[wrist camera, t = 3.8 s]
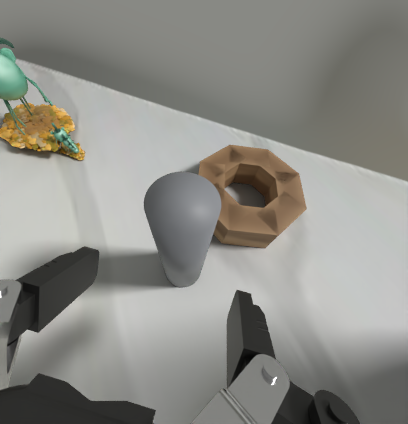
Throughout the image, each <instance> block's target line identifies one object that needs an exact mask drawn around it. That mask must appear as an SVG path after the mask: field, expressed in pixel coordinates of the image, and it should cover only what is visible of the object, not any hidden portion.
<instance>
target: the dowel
mask: <svg viewBox="0 0 408 424" xmlns="http://www.w3.org/2000/svg"><path fill="white" fill-rule="evenodd" d="M144 210H145V213H146V217H147V220H148V223H149V226H150V229H151V232H152V235H153V238H154V241H155V243H156V246H157V249H158V252H159V255H160V258H161V261H162V264H163V267H164V270H165V273H166V276H167V278H168V280H169V281H170V282H171V283H172V284H173V285H175V286H177V287H188V286H190V285H192V284H194V283H195V282H196V281H197V279H198V278H199V276H200V273H201V270H202V267H203V264H204V261H205V258H206V254H207V251H208V248H209V245H210V242H211V239H212V236H213V233H214V230H215V227H216V224H217V221H218V218H219V215H220V211H221V198H220V195H219V192H218V191H217V189H216V187H215V186H214V185H213V184H212V183H211V182H210V181H209V180H207V179H206V178H204V177H202V176H200V175H198V174H194V173H190V172H175V173H170V174H167V175H165V176H163V177H161V178H159V179H157V180H156V181H155V182H154V183H153V184H152V185H151V186H150V187H149V189H148V191H147V192H146V195H145V199H144Z"/></svg>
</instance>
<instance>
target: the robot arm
mask: <svg viewBox="0 0 408 424" xmlns="http://www.w3.org/2000/svg"><path fill="white" fill-rule="evenodd" d="M98 261H99V251H98V250H96V249H92V248H89V247H82V248H80V249H79V250H77V251H75V252H73V253H72V252H71V253H67V254H64V255H61V256H59V257H57V258H55V259H53V260H52V261H51V262H48V263H46V264H44V266H41V267H39V268H37V269H35V270H33V271H32V272H30V273H28V274H26V275H24V276H23V277H21V278H19V279H17V280H0V424H154V423H153V419H154V415H155V411H156V410H153V409H150V408H147V407H144V406H141V405H137V404H134V403H131V402H128V401H91V400H89V399H87V398H86V397H85V396H84V395H82V394H81V393H80V392H79V391H77V390H76V389H75V388H74V387H72V386H71V385H70V384H69V383H67V382H65V381H62V380H59V379H55V378H52V377H49V376H46V375H43V374H40V373H38V375H37V376H36V377H35V378H34V379H33V380H32V381H31V382H30V383H29V385H18V386H13V387H9V382H10V378H11V374H12V370H13V367H14V363H15V360H16V356H17V352H18V349H19V345H20V341H21V334H22V333H24V332H25V331H26V330H27V329H28V330H31V331H34V332H37V333H38V332H40V331H41V330H42V329H43V328H44V327H45V326H46V325H47V324H48V323H50V322H51V321H52V320H53V319H54V318H55V317H56V316H57V315H58V314H60V313H61V312H62V311H63V310H64V309H65V308H66V307H67V306H68V305H70V304H71V303H72V302H73V301H74V300H75V299H76V298H77V297H78V296H80V295H81V294H82V293H83V292H84V291H85V290H86V289H87V288H88V287H90V286H91V285H92V284H93V282H94V280H95V278H96V276H97V270H98ZM8 387H9V388H8ZM191 424H360V423H359V421H358V419H357V417H356V416H355V414H354V413H353V411H352V410H351V409H350V408H349V407H348V405H347V404H346V403H345V402H344V401H342V400H341V399H340V398H339V397H337V396H336V395H334V394H333V393H331V392H328V391H325V390H320V391H318V392H316V394H315V396H314V397H313V396H312V395H310V394H309V393H307V392H305V391H304V390H302V389H301V388H299V387H297V386H296V385H294V384H293V383H292V382H291V381H289V377H288V375H287V372H286V371H285V369H284V368H283V366H282V365H281V364H280V363H279V362H278V361H277V360H276V358H275V354H274V350H273V346H272V342H271V338H270V334H269V332H268V327H267V324H266V319H265V315H264V313H263V312H262V310H261V309H260V307H259V306H257V305H253V302H252V297H251V294H250V293H247V292H243V291H239V290H237V291H236V293H235V296H234V299H233V302H232V305H231V308H230V311H229V314H228V318H227V390H225V389H224V388H223V389H221V390H220V391H219V392H218V393H217V394H216V395H215V396H214V398H213V399H212V400H211V401H210V402H209V403H208V404H207V406H206V407H205V408H204V409H203V410H202V411H201V412H200V414H199V415H198V416H197V417H196V418H195V419H194V420H193V422H192V423H191Z"/></svg>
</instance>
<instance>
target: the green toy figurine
mask: <svg viewBox="0 0 408 424" xmlns="http://www.w3.org/2000/svg"><path fill="white" fill-rule="evenodd" d="M0 44H6V45H8V46H10V47H12V48H14V46H13V45H12V43H10V42H9V41H7V40H5V39H3V38H0ZM15 60H16V58H15V57H14V54H13V53H12V51H11V50H10V49H7V48H3V49H1V50H0V98H1V99H3V100H4V102H5V104H6V106H7V108H8V110H9V112H10V113H6V114H5V115H4V116H5V119H4V120H3V122H4V124H3V125H2V128H0V137H1V138H3V139H5V140H6V141H8V142H9V143H10V144H11V146H13V147H19V148H20V149H22V148H25V147H28V148H30V149H34V150H38V151H41V150H42V151H47V150H52V151H53V152H55V151H57V150H58V147H59V146H60V144H59V141H60V143H61V142H62V144H61V146H62V149H61V148H60V152H59V153H64V154H66V155H69V156H70V157H73V158H75V159H77V160H83V159H84V156H85V151H83V150H82V149H81V147H80V144H79V143H77V144H76V143H74V142H73V140H71V139H70V137H68V136H70V135H68V133H69V132H70V131H74V130H75V129H74V127H75V125H74V123H73V121H72V119H71V117H70V116H68V114H67V113H66V111H65V110H64V109H63V108H56V106H55V105H53V104H52V102H51V101H49V100H48V99H47V97H46V96H45V95H44V93H43V92H42V91H41V90H40V88H39V87H38V86H37V84H36V83H35V82H33V81H32V80H30V79H29V78H27V77H26V76H25V75H24V73H23V72H22V70H21V69H20V68H19V67H18V66H17V65H16V64H15ZM26 79H28V80H29V81H30V82H31V83H32V84H33V85H34V86H35V87H36V88H38V89H39V92H40V93H41V95H42V96H43V95H44V96H43V98H44V100H45V102H49V103H50V105H44V104H42V105H36V106H34V105H33V104H31V103H27V101H26V100H25V98H24V95H25V94H26V93H27V91H28V84H27V80H26ZM22 97H23V99H24V100H25V102H26V103H24V102H23V100H22V99H21V98H22ZM18 99H20V100H21V102H22V103H23V104H20V105H18V106H16V108H14V109H12V108H11V106H10V104H9V102H8V101H7V100H18ZM10 109H11V110H10ZM11 111H12V112H11Z"/></svg>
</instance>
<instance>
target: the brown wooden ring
mask: <svg viewBox="0 0 408 424" xmlns="http://www.w3.org/2000/svg"><path fill="white" fill-rule="evenodd" d="M199 175H200V176H202V177H204V178H206V179H207V180H209V181H210V182H211V183H212V184H213V185H214V186H215V187H216V189H217V191H218V192H219V195H220V198H221V211H220V215H219V218H218V221H217V224H216V227H215V230H214V233H213V234H214V235H215V236H216V238H217V239H218V240H219V241H220V242H221V243H222V244H231V245H240V246H250V247H259V248H266V247H267V246H268V245H269V244H270V243H271V242H272V241H273V240H274V239H275V238H276V237H277V236H278V235H279V234H281V233H282V232H283V231H284V230H285V229H286V228H287V227H288V226H289V225H290V224H291V223H292V222H293V221H294V220H295V219H297V218H298V217H299V216H300V215H301V214H302V213H303V212H304V211H305V210H306V204H305V199H304V195H303V190H302V185H301V181H300V176H299V173H297V172H296V171H295V170H294V169H292V168H291V167H290V166H288V165H287V164H286V163H285V162H283V161H282V160H281V159H279V158H278V157H277V156H276V155H274V154H273V153H272V152H270V151H269V150H267V149H259V148H251V147H243V146H236V145H229V146H227V147H225V148H223V149H221V150H220V151H218V152H216V153H214V154H213V155H211V156H209V157H207V158H205V159H204V160H202V161H200V166H199ZM233 182H234V183H242V184H250V185H252V186H253V187H254V188H255V189H256V190H258V191H259V192H260V193H261V194H262V195H263V196H264V197H265V207H264V208H260V207H251V206H242V205H240V204H239V203H238V202H237V201H235V200H234V199H233V198H232V197H231V196H230V195H229V194H228V193H227V192H226V191H225V190H224V188H226V187H227V186H229V185H230V184H231V183H233Z"/></svg>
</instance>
